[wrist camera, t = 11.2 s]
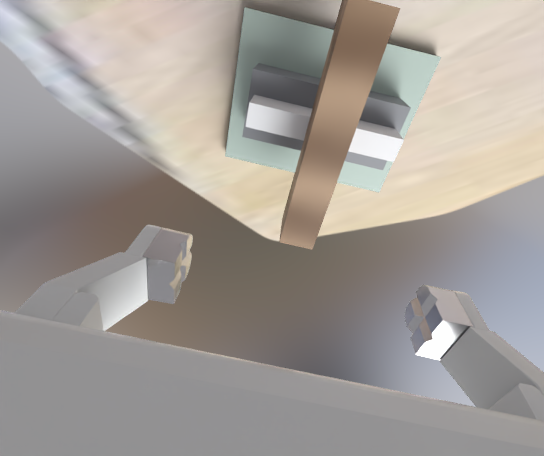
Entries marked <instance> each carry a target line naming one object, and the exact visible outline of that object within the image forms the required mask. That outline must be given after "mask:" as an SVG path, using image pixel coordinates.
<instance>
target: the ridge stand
mask: <svg viewBox="0 0 544 456" xmlns="http://www.w3.org/2000/svg"><path fill="white" fill-rule="evenodd" d="M333 32H334V30H333V29H329V28H325V27H321V26H317V25H313V24H309V23H305V22H301V21H297V20H293V19H289V18H285V17H282V16H278V15H274V14H270V13H266V12H262V11H258V10H254V9H250V8H244V15H243V23H242V31H241V38H240V46H239V54H238V62H237V69H236V77H235V85H234V93H233V100H232V108H231V116H230V123H229V131H228V139H227V147H226V154H225V156H226V157H230V158H235V159H239V160H243V161H248V162H252V163H256V164H260V165H265V166H269V167H273V168H277V169H282V170H286V171H290V172H294V173H295V171H296V167H297V163H298V160H299V156H300V152H301V149H302V145H303V142H304V138H305V134H306V131H307V127H308V123H309V120H310V116H311V112H312V109H313V105H314V101H315V98H316V94H317V90H318V87H319V83H320V79H321V76H322V72H323V69H324V65H325V61H326V58H327V54H328V50H329V47H330V43H331V39H332V36H333ZM440 59H441V57H439V56H435V55H431V54H427V53H423V52H419V51H415V50H411V49H408V48H404V47H400V46H396V45H392V44H388V43H387V46H386V49H385V51H384V54H383V57H382V60H381V62H380V65H379V68H378V71H377V73H376V76H375V79H374V82H373V84H372V87H371V90H370V93H369V95H368V98H367V101H366V104H365V106H364V109H363V112H362V115H361V117H360V120H359V123H358V126H357V128H356V131H355V134H354V137H353V139H352V142H351V145H350V148H349V150H348V153H347V156H346V158H345V161H344V164H343V167H342V169H341V172H340V175H339V178H338V180H337V183H341V184H346V185H350V186H354V187H358V188H363V189H367V190H371V191H375V192H380V190H381V187H382V185H383V183H384V181H385V179H386V176H387V174H388V172H389V170H390V168H391V166H392V163H393V162H394V160H395V158H396V156H397V154H398V152H399V150H400V147H401V145H402V143H403V141H404V137H405V135H406V133H407V131H408V128H409V126H410V124H411V122H412V120H413V118H414V115H415V113H416V111H417V109H418V107H419V104H420V102H421V100H422V98H423V96H424V94H425V91H426V89H427V87H428V85H429V83H430V80H431V78H432V76H433V74H434V72H435V70H436V67H437V65H438V63H439V61H440Z"/></svg>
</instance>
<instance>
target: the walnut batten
mask: <svg viewBox="0 0 544 456" xmlns="http://www.w3.org/2000/svg"><path fill="white" fill-rule="evenodd" d="M399 10H400V8H397V7H393V6H389V5H385V4H381V3H378V2H374V1H370V0H342V3H341V6H340V10H339V14H338V17H337V21H336V25H335V28H334V32H333V36H332V39H331V43H330V47H329V50H328V54H327V58H326V61H325V65H324V69H323V72H322V76H321V79H320V83H319V87H318V90H317V94H316V98H315V101H314V105H313V109H312V112H311V116H310V120H309V123H308V127H307V131H306V134H305V138H304V142H303V145H302V149H301V152H300V156H299V160H298V163H297V167H296V171H295V174H294V178H293V182H292V185H291V189H290V193H289V196H288V200H287V204H286V207H285V211H284V215H283V218H282V226H281V234H280V242H281V243H286V244H290V245H295V246H300V247H303V248H308V249H313V246H314V244H315V241H316V238H317V235H318V233H319V230H320V227H321V224H322V222H323V219H324V216H325V213H326V211H327V208H328V205H329V202H330V200H331V197H332V194H333V191H334V189H335V186H336V183H337V180H338V178H339V175H340V172H341V169H342V167H343V164H344V161H345V158H346V156H347V153H348V150H349V148H350V145H351V142H352V139H353V137H354V134H355V131H356V128H357V126H358V123H359V120H360V117H361V115H362V112H363V109H364V106H365V104H366V101H367V98H368V95H369V93H370V90H371V87H372V84H373V82H374V79H375V76H376V73H377V71H378V68H379V65H380V62H381V60H382V57H383V54H384V51H385V49H386V46H387V43H388V40H389V38H390V35H391V32H392V30H393V27H394V24H395V21H396V19H397V16H398V13H399Z"/></svg>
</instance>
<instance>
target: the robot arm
mask: <svg viewBox="0 0 544 456" xmlns="http://www.w3.org/2000/svg"><path fill="white" fill-rule="evenodd" d="M192 238H193V237H192V235H191V234H187V233H183V232H179V231H175V230H171V229H167V228H162V227H157V226H153V225H147V226H145V228H144V229H143V230H142V231H141V233H140V234H139V235H138V237H137V238H136V239H135V240H134V242H133V243H132V244H131V245H130V247H129V248H128V249H127V251H126V252H125V253H121V252H120V253H117V254H115V255H112V256H110V257H107V258H105V259H102V260H100V261H97V262H95V263H93V264H90V265H87V266H85V267H82V268H80V269H77V270H75V271H72V272H70V273H68V274H65V275H63V276H60V277H58V278H55V279H53V280H50V281H48V282H46V283H44V284H43V285H42V286H41V287H40V288H39V289H38V290H37V291H36V292H35V293H34V294H33V295H32V296H31V297H30V298H29V299H28V300H27V301H26V302H25V303H24V304H23V305H22V306H21V307H20V308H19V309H18V310H17V311H16V312H15V313H12V312H7V311H2V310H0V456H544V372H542V371H541V370H540V369H539V368H538V367H536V366H535V365H534V364H533V363H532V362H530V361H529V360H528V359H527V358H525V357H524V356H523V355H522V354H521V353H519V352H518V351H517V350H516V349H514V348H513V347H512V346H511V345H510V344H508V343H507V342H506V341H505V340H504V339H502V338H501V337H500V336H499V335H497V334H496V333H495V332H493V331H490V330H489V329H488V327H487V325H486V323H485V322H484V320H483V318H482V317H481V315H480V313H479V311H478V310H477V308H476V306H475V305H474V303H473V301H472V299H471V298H470V296H469V295H468V294H466V293H463V292H458V291H453V290H451V291H450V290H446V289H441V288H436V287H432V286H427V285H422V286H421V287H419V288H418V290H417V291H416V295H417V298H415V299H413V300H411V301H410V302H409V304H408V305H407V307H406V311H405V322H406V325H407V327H408V328H409V330H410V331H411V332H412V333H413V334H412V336H411V341H412V344H413V347H414V350H415V353H416V355H420V356H425V357H429V358H433V359H437V360H440V362H441V363H442V365H443V366H444V367H445V369H446V370H447V371H448V372H449V374H450V375H451V376H452V377H453V379H454V380H455V381H456V382H457V384H458V385H459V386H460V387H461V388H462V390H463V391H464V392H465V393H466V395H467V396H468V397H469V398H470V400H471V401H472V402H473V403H474V405H475V406H476V407H473V406H467V405H463V404H458V403H453V402H448V401H443V400H439V399H434V398H429V397H424V396H419V395H414V394H409V393H404V392H399V391H395V390H389V389H385V388H380V387H375V386H370V385H365V384H360V383H355V382H351V381H345V380H341V379H336V378H331V377H326V376H321V375H316V374H311V373H306V372H301V371H297V370H291V369H287V368H282V367H277V366H272V365H267V364H262V363H257V362H253V361H248V360H243V359H238V358H233V357H228V356H223V355H218V354H213V353H208V352H203V351H199V350H194V349H189V348H184V347H179V346H174V345H169V344H164V343H159V342H154V341H150V340H144V339H140V338H135V337H130V336H125V335H120V334H115V333H110V332H105V330H106V329H108V328H109V327H111V326H112V325H114V324H115V323H117V322H118V321H119V320H121V319H122V318H124V317H125V316H127V315H128V314H129V313H131V312H132V311H134V310H135V309H137V308H138V307H140V306H141V305H142V304H144V303H145V302H147V301H148V299H149V300H154V301H160V302H165V303H171V304H174V302H175V300H176V298H177V296H178V294H179V292H180V289H181V282H182V281H184V280H185V279H186V276H187V274H188V271H189V268H190V263H191V256H192V254H191V252H190V251H189V250H190V247H191V246H192Z"/></svg>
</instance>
